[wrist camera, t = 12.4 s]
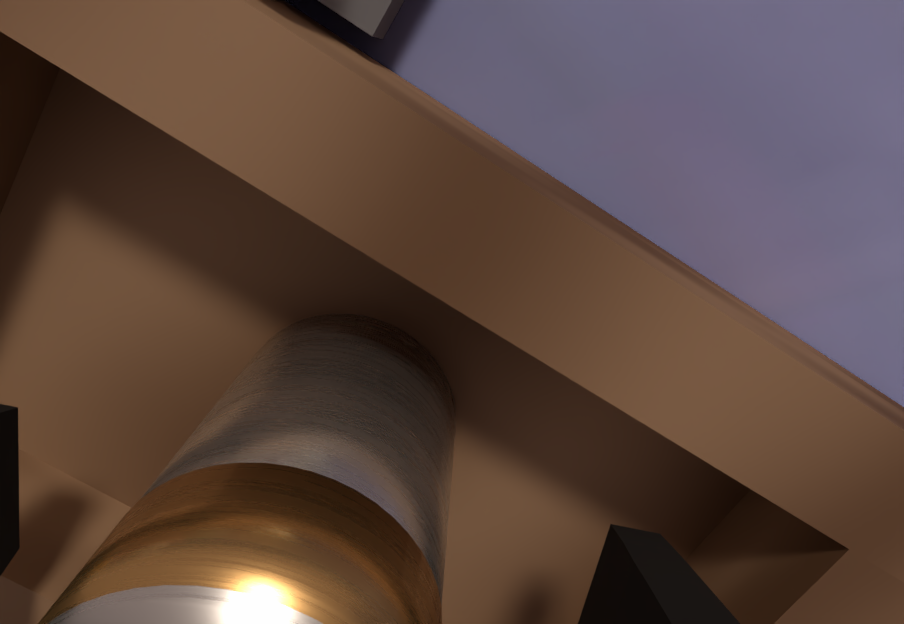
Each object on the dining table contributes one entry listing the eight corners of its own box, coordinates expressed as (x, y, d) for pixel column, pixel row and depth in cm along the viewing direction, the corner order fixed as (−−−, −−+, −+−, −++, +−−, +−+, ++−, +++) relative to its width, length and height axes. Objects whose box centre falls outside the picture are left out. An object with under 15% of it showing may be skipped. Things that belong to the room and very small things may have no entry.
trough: (904, 407, 11) (1042, 520, 9) (555, 768, 14) (572, 940, 12) (45, -156, 9) (-147, -253, 6) (-157, 402, 12) (-349, 504, 9)
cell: (476, 334, 10) (465, 715, 4) (437, 526, 12) (385, 1040, 5) (247, 293, 10) (-94, 618, 4) (230, 488, 12) (-56, 967, 5)
